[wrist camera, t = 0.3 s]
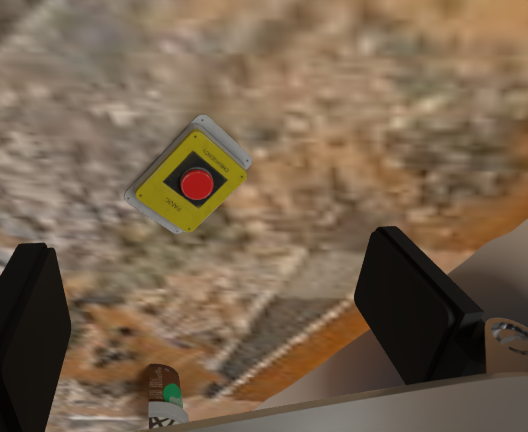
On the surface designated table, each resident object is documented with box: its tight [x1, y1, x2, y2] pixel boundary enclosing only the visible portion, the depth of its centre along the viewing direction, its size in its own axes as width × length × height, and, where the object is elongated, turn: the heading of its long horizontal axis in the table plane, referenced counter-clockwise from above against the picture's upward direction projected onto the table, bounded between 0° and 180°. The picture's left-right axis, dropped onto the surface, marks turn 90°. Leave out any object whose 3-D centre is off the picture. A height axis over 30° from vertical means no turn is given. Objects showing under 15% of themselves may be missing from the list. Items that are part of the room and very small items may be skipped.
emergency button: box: [124, 114, 252, 234], centre depth 46 cm, size 9×4×15 cm
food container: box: [148, 364, 189, 429], centre depth 62 cm, size 12×6×10 cm, turn 171°
